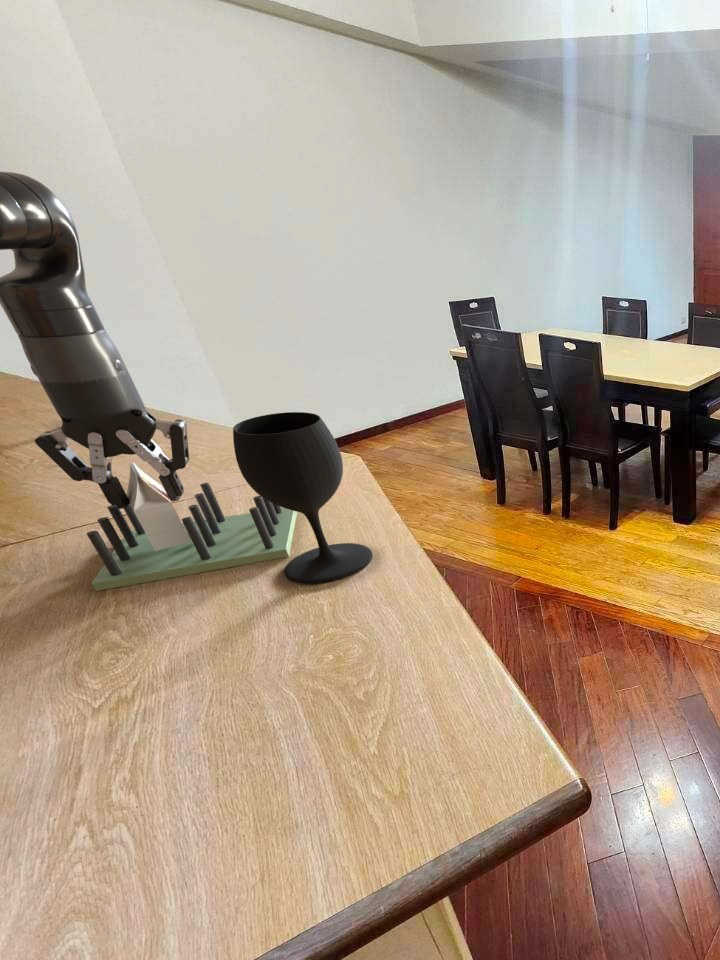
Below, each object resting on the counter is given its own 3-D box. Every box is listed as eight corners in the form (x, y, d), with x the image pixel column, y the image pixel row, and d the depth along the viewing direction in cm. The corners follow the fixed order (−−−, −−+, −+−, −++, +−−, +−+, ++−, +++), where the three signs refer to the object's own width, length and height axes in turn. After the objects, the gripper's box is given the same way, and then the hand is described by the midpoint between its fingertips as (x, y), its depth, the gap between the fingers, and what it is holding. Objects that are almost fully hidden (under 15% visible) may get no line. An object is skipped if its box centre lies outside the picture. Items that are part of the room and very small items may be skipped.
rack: (96, 591, 73) (65, 541, 70) (130, 538, 84) (105, 492, 81) (289, 556, 82) (270, 510, 78) (297, 512, 93) (281, 470, 90)
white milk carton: (155, 551, 77) (117, 481, 72) (147, 533, 81) (111, 465, 76) (191, 541, 80) (157, 473, 75) (181, 524, 84) (149, 458, 79)
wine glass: (363, 579, 78) (314, 434, 68) (272, 589, 75) (206, 439, 65) (380, 541, 86) (339, 408, 76) (299, 549, 84) (244, 412, 74)
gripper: (169, 360, 75) (223, 483, 84) (11, 369, 69) (87, 501, 77) (154, 374, 70) (213, 504, 78) (-19, 385, 63) (66, 525, 72)
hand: (150, 502), depth 78 cm, fingers closed on white milk carton, 4 cm apart
